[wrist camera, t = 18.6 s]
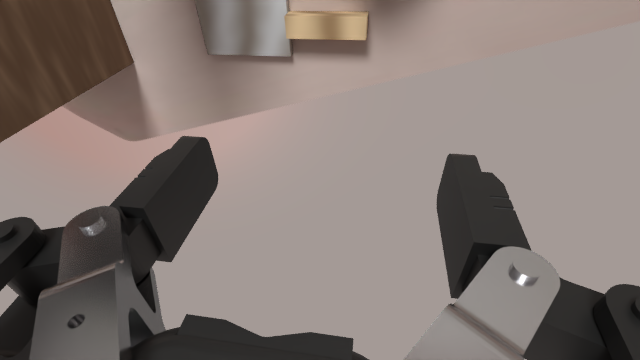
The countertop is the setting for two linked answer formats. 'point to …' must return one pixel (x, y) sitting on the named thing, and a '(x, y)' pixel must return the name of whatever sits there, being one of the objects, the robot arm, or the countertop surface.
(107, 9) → the plinth
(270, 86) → the countertop surface
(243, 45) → the rectangular straight-edged part
